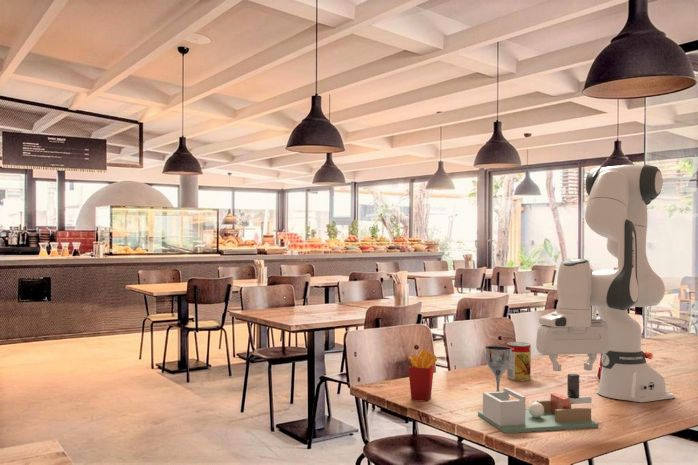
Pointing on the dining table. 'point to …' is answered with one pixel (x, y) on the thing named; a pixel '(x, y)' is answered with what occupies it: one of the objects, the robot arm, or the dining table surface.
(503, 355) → the wine glass
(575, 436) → the dining table surface
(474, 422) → the dining table surface
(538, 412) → the ball
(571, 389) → the kicker
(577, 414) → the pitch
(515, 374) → the canned food
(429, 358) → the french fries
